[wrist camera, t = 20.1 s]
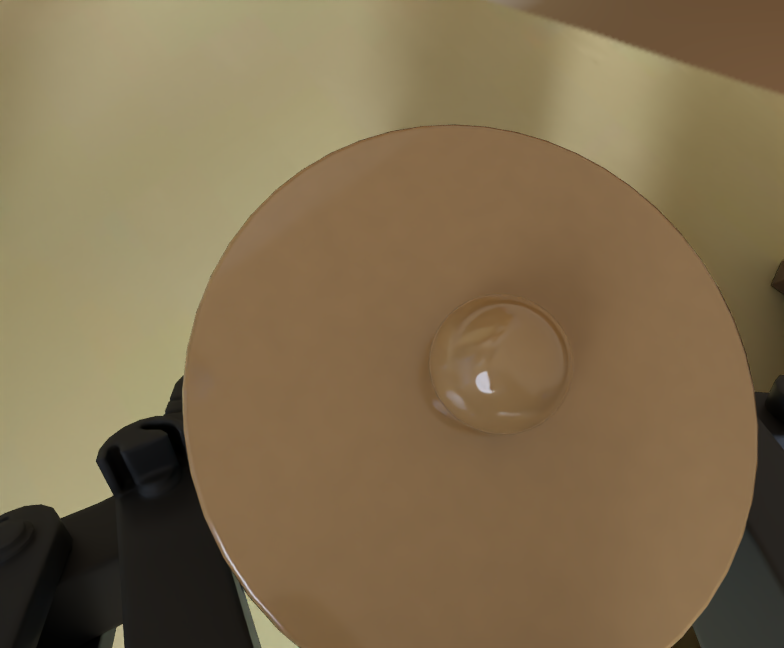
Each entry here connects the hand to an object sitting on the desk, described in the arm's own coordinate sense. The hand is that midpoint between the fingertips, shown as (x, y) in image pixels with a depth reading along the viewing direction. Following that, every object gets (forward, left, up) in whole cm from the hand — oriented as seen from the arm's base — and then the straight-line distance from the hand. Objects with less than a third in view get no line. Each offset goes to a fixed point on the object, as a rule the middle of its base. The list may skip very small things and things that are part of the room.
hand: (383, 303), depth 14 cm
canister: (+2, -3, -3) cm, 5 cm away
